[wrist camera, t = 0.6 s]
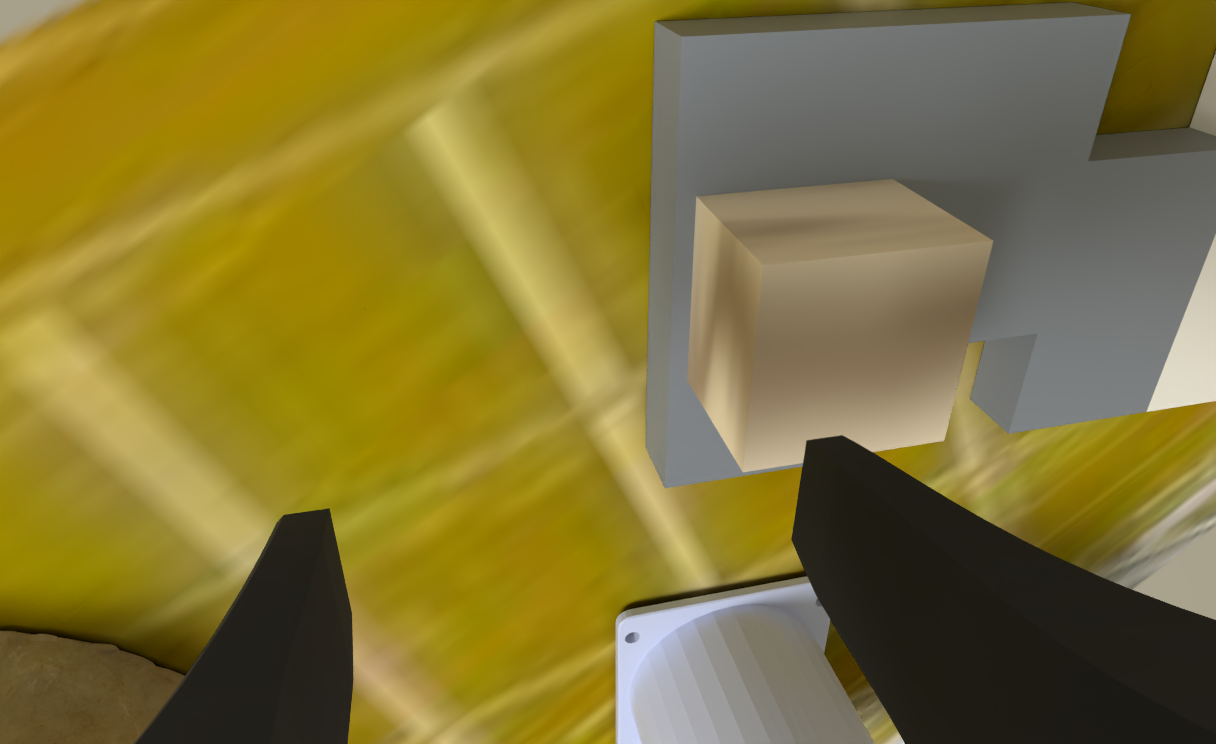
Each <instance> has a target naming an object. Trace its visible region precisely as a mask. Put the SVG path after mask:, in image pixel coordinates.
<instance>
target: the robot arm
mask: <svg viewBox="0 0 1216 744" xmlns="http://www.w3.org/2000/svg"><path fill="white" fill-rule="evenodd" d="M792 542H793V544H794V547H795V549H796V551H797V554H798V556H799V558H800V561H801V563H802V566H803V568H804V570H805V573H806V575H807V576H806V577H801V578H795V579H790V580H784V581H779V582H774V583H768V584H763V585H758V586H752V587H747V588H741V589H736V590H731V591H725V592H720V593H715V594H709V595H704V596H699V597H693V598H688V599H682V600H677V601H672V602H666V603H661V604H656V605H650V606H645V607H639V608H634V609H629V610H626V611H624V612H622V613H621V614H620V615H619V616H618V617H617V619H616V744H875V742H874V741H873V739H872V737H871V735H870V734H869V732H868V730H867V728H866V727H865V725H864V723H863V721H862V720H861V718H860V716H859V714H858V713H857V711H856V709H855V707H854V706H853V704H852V702H851V700H850V699H849V697H848V695H847V693H846V691H845V690H844V688H843V686H842V684H841V683H840V681H839V679H838V677H837V676H836V674H835V672H834V670H833V669H832V667H831V665H830V663H829V662H828V660H827V658H826V656H825V655H824V652H825V647H826V641H827V636H828V631H829V625H830V620H831V621H832V623H833V625H834V626H835V628H836V630H837V631H838V633H839V635H840V636H841V638H842V640H843V641H844V643H845V644H846V646H847V648H848V649H849V651H850V653H851V654H852V656H853V657H854V659H855V661H856V662H857V664H858V666H859V667H860V669H861V670H862V672H863V674H864V675H865V677H866V678H867V680H868V682H869V683H870V685H871V687H872V688H873V690H874V691H875V693H876V695H877V696H878V698H879V700H880V701H881V703H882V704H883V706H884V708H885V709H886V711H887V713H888V714H889V716H890V718H891V719H892V721H893V723H894V725H895V727H896V728H897V730H898V732H899V734H900V735H901V737H902V739H903V741H904V743H905V744H1216V620H1214V619H1211V618H1208V617H1205V616H1202V615H1199V614H1196V613H1193V612H1191V611H1188V610H1185V609H1181V608H1179V607H1176V606H1173V605H1171V604H1168V603H1165V602H1163V601H1160V600H1158V599H1155V598H1152V597H1150V596H1147V595H1144V594H1142V593H1139V592H1137V591H1134V590H1131V589H1129V588H1126V587H1124V586H1121V585H1119V584H1116V583H1114V582H1112V581H1109V580H1107V579H1104V578H1102V577H1100V576H1097V575H1095V574H1093V573H1091V572H1088V571H1086V570H1084V569H1082V568H1080V567H1077V566H1075V565H1073V564H1071V563H1069V562H1066V561H1064V560H1062V559H1060V558H1058V557H1055V556H1053V555H1051V554H1049V553H1047V552H1045V551H1043V550H1041V549H1039V548H1037V547H1035V546H1033V545H1031V544H1029V543H1027V542H1025V541H1023V540H1021V539H1019V538H1018V537H1016V536H1014V535H1012V534H1010V533H1008V532H1006V531H1004V530H1003V529H1001V528H999V527H997V526H995V525H993V524H991V523H990V522H988V521H986V520H984V519H982V518H981V517H979V516H977V515H975V514H974V513H972V512H970V511H968V510H967V509H965V508H963V507H961V506H960V505H958V504H956V503H955V502H953V501H951V500H950V499H948V498H946V497H945V496H943V495H941V494H940V493H938V492H936V491H935V490H933V489H931V488H930V487H928V486H926V485H925V484H923V483H921V482H920V481H918V480H917V479H915V478H913V477H912V476H910V475H908V474H907V473H905V472H904V471H902V470H900V469H899V468H897V467H896V466H894V465H892V464H891V463H889V462H887V461H886V460H884V459H883V458H881V457H879V456H878V455H876V454H874V453H873V452H871V451H869V450H868V449H866V448H864V447H863V446H861V445H859V444H858V443H856V442H854V441H852V440H850V439H849V438H847V437H845V436H843V435H840V436H833V437H826V438H819V439H812V440H806V447H805V454H804V460H803V467H802V474H801V480H800V487H799V494H798V500H797V507H796V513H795V520H794V527H793V533H792ZM632 632H634V633H632ZM629 633H632V634H629ZM352 689H353V638H352V612H351V607H350V602H349V598H348V593H347V588H346V584H345V579H344V574H343V570H342V565H341V560H340V556H339V551H338V546H337V542H336V537H335V532H334V528H333V523H332V518H331V514H330V509H323V510H316V511H309V512H302V513H295V514H288V515H284V516H283V517H282V518H281V519H280V520H279V521H278V522H277V524H276V526H275V528H274V530H273V532H272V534H271V536H270V538H269V540H268V542H267V544H266V546H265V547H264V549H263V551H262V553H261V555H260V557H259V559H258V561H257V562H256V564H255V566H254V568H253V570H252V571H251V573H250V575H249V577H248V579H247V580H246V582H245V584H244V586H243V587H242V589H241V591H240V592H239V594H238V596H237V597H236V599H235V601H234V602H233V604H232V605H231V607H230V609H229V610H228V612H227V614H226V615H225V617H224V619H223V620H222V622H221V623H220V625H219V627H218V628H217V630H216V631H215V633H214V635H213V636H212V638H211V639H210V641H209V642H208V644H207V645H206V647H205V648H204V649H203V651H202V652H201V654H200V655H199V657H198V658H197V660H196V661H195V662H194V664H193V665H192V667H191V668H190V670H189V671H188V673H187V674H186V675H185V677H184V678H183V680H182V681H181V683H180V684H179V686H178V687H177V688H176V690H175V691H174V692H173V694H172V695H171V697H170V698H169V699H168V700H167V702H166V703H165V704H164V706H163V707H162V708H161V710H160V711H159V712H158V714H157V715H156V716H155V718H154V719H153V720H152V721H151V723H150V724H149V725H148V726H147V728H146V729H145V730H144V731H143V733H142V734H141V735H140V736H139V738H138V739H137V740H136V741H135V742H134V744H347V743H348V732H349V722H350V711H351V700H352Z"/></svg>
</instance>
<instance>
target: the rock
mask: <svg viewBox="0 0 1216 744" xmlns="http://www.w3.org/2000/svg"><path fill="white" fill-rule="evenodd" d="M184 677H185V676H184V675H182V674H180V673H177V672H175V671H172V670H169V669H166V668H160V667H157V666H155V664H154V663H153V662H151V661H149V660H147V659H145V658H143V657H140V656H137V655H135V654H131V653H128V652H125V651H121V650H119V649H118V648H117V647H116V646H115V645H111V644H98V643H89V642H84V641H78V640H73V639H68V638H61V637H57V636H54V635H49V634H27V633H21V632H16V631H0V744H134V742H135V741H136V740H137V739H138V738H139V736H140V735H141V734H142V733H143V731H144V730H145V729H146V728H147V726H148V725H149V724H150V723H151V721H152V720H153V719H154V718H155V716H156V715H157V714H158V712H159V711H160V710H161V708H162V707H163V706H164V704H165V703H166V702H167V700H168V699H169V698H170V697H171V695H172V694H173V692H174V691H175V690H176V688H177V687H178V686H179V684H180V683H181V681H182V680H183V678H184Z"/></svg>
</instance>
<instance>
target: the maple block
mask: <svg viewBox="0 0 1216 744" xmlns="http://www.w3.org/2000/svg"><path fill="white" fill-rule="evenodd" d="M992 244H993V240H991V239H990V238H988V237H987V236H985V235H983V234H982V233H980V232H978V231H977V230H975V229H974V228H972V227H970V226H969V225H967V224H965V223H964V222H962V221H960V220H959V219H957V218H956V217H954V216H952V215H951V214H949V213H947V212H946V211H944V210H943V209H941V208H939V207H938V206H936V205H934V204H933V203H931V202H930V201H928V200H926V199H925V198H923V197H921V196H920V195H918V194H916V193H915V192H913V191H912V190H910V189H908V188H907V187H905V186H903V185H902V184H900V183H899V182H897V181H895V180H894V179H886V180H875V181H864V182H852V183H841V184H830V185H819V186H807V187H796V188H785V189H774V190H763V191H751V192H740V193H729V194H718V195H706V196H696V213H695V233H694V253H693V272H692V292H691V312H690V332H689V352H688V372H687V381H688V383H689V384H690V386H691V388H692V389H693V391H694V393H695V394H696V396H697V398H698V399H699V401H700V403H701V404H702V406H703V407H704V409H705V411H706V412H707V414H708V416H709V417H710V419H711V421H712V422H713V424H714V426H715V427H716V429H717V431H718V432H719V434H720V436H721V437H722V439H723V440H724V442H725V444H726V445H727V447H728V449H729V450H730V452H731V454H732V455H733V457H734V459H735V460H736V462H737V464H738V465H739V467H740V469H741V470H742V472H749V471H755V470H762V469H768V468H774V467H781V466H787V465H793V464H800V463H803V460H804V454H805V447H806V440H812V439H819V438H826V437H833V436H840V435H843V436H845V437H847V438H849V439H850V440H852V441H854V442H856V443H858V444H859V445H861V446H863V447H864V448H866V449H868V450H869V451H871V452H876V451H882V450H888V449H895V448H901V447H907V446H914V445H920V444H926V443H933V442H939V441H944V440H945V435H946V431H947V427H948V423H949V419H950V415H951V411H952V407H953V403H954V399H955V395H956V391H957V387H958V383H959V379H960V375H961V370H962V366H963V362H964V358H965V354H966V350H967V346H968V342H969V338H970V334H971V330H972V326H973V322H974V318H975V314H976V310H977V305H978V301H979V297H980V293H981V289H982V285H983V281H984V277H985V273H986V269H987V265H988V261H989V257H990V253H991V249H992Z"/></svg>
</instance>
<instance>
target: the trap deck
mask: <svg viewBox="0 0 1216 744" xmlns="http://www.w3.org/2000/svg"><path fill="white" fill-rule="evenodd" d="M1130 17H1131V14H1128V13H1123V12H1118V11H1113V10H1108V9H1103V8H1098V7H1093V6H1088V5H1084V4H1079V3H1074V2H1066V3H1044V4H1023V5H1001V6H979V7H958V8H936V9H914V10H893V11H871V12H849V13H827V14H806V15H784V16H762V17H741V18H719V19H697V20H676V21H655V38H654V85H653V131H652V178H651V224H650V271H649V317H648V364H647V410H646V449H647V451H648V453H649V455H650V458H651V460H652V462H653V464H654V466H655V468H656V470H657V472H658V475H659V477H660V479H661V481H662V483H663V485H664V487H665V488H669V487H676V486H682V485H688V484H694V483H701V482H707V481H713V480H720V479H726V478H732V477H739V476H745V475H751V474H757V473H764V472H770V471H776V470H783V469H789V468H795V467H802V466H803V463H800V464H793V465H787V466H781V467H774V468H768V469H762V470H755V471H749V472H742V470H741V469H740V467H739V465H738V464H737V462H736V460H735V459H734V457H733V455H732V454H731V452H730V450H729V449H728V447H727V445H726V444H725V442H724V440H723V439H722V437H721V436H720V434H719V432H718V431H717V429H716V427H715V426H714V424H713V422H712V421H711V419H710V417H709V416H708V414H707V412H706V411H705V409H704V407H703V406H702V404H701V403H700V401H699V399H698V398H697V396H696V394H695V393H694V391H693V389H692V388H691V386H690V384H689V383H688V381H687V372H688V352H689V332H690V312H691V292H692V272H693V253H694V233H695V213H696V196H706V195H718V194H729V193H740V192H751V191H763V190H774V189H785V188H796V187H807V186H819V185H830V184H841V183H852V182H864V181H875V180H886V179H894V180H895V181H897V182H899V183H900V184H902V185H903V186H905V187H907V188H908V189H910V190H912V191H913V192H915V193H916V194H918V195H920V196H921V197H923V198H925V199H926V200H928V201H930V202H931V203H933V204H934V205H936V206H938V207H939V208H941V209H943V210H944V211H946V212H947V213H949V214H951V215H952V216H954V217H956V218H957V219H959V220H960V221H962V222H964V223H965V224H967V225H969V226H970V227H972V228H974V229H975V230H977V231H978V232H980V233H982V234H983V235H985V236H987V237H988V238H990V239H991V240H993V244H992V249H991V253H990V257H989V261H988V265H987V269H986V273H985V277H984V281H983V285H982V289H981V293H980V297H979V301H978V305H977V310H976V314H975V318H974V322H973V326H972V330H971V334H970V338H969V342H968V343H971V342H979V341H985V343H984V347H983V351H982V355H981V359H980V363H979V367H978V370H977V374H976V378H975V382H974V386H973V390H972V394H971V398H970V400H972V401H973V402H974V403H975V404H976V405H977V406H978V407H979V408H980V409H982V410H983V411H984V412H985V413H986V414H987V415H988V416H989V417H990V418H992V419H993V420H994V421H995V422H996V423H997V424H998V425H999V426H1000V427H1002V428H1003V429H1004V430H1005V431H1006V432H1007V433H1008V434H1010V433H1016V432H1022V431H1028V430H1035V429H1041V428H1047V427H1054V426H1060V425H1066V424H1073V423H1079V422H1085V421H1092V420H1098V419H1104V418H1110V417H1117V416H1123V415H1129V414H1136V413H1142V412H1148V411H1155V410H1161V409H1167V408H1173V407H1180V406H1186V405H1192V404H1199V403H1205V402H1211V401H1216V52H1215V55H1214V58H1213V61H1212V64H1211V67H1210V70H1209V73H1208V75H1207V78H1206V81H1205V84H1204V87H1203V90H1202V93H1201V96H1200V98H1199V101H1198V104H1197V107H1196V110H1195V113H1194V116H1193V118H1192V121H1191V124H1190V127H1188V128H1176V129H1164V130H1151V131H1139V132H1127V133H1115V134H1103V135H1096V133H1097V129H1098V126H1099V123H1100V119H1101V116H1102V112H1103V109H1104V106H1105V102H1106V99H1107V95H1108V92H1109V88H1110V85H1111V82H1112V78H1113V75H1114V71H1115V68H1116V65H1117V61H1118V58H1119V54H1120V51H1121V48H1122V44H1123V41H1124V37H1125V34H1126V30H1127V27H1128V24H1129V20H1130Z"/></svg>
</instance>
